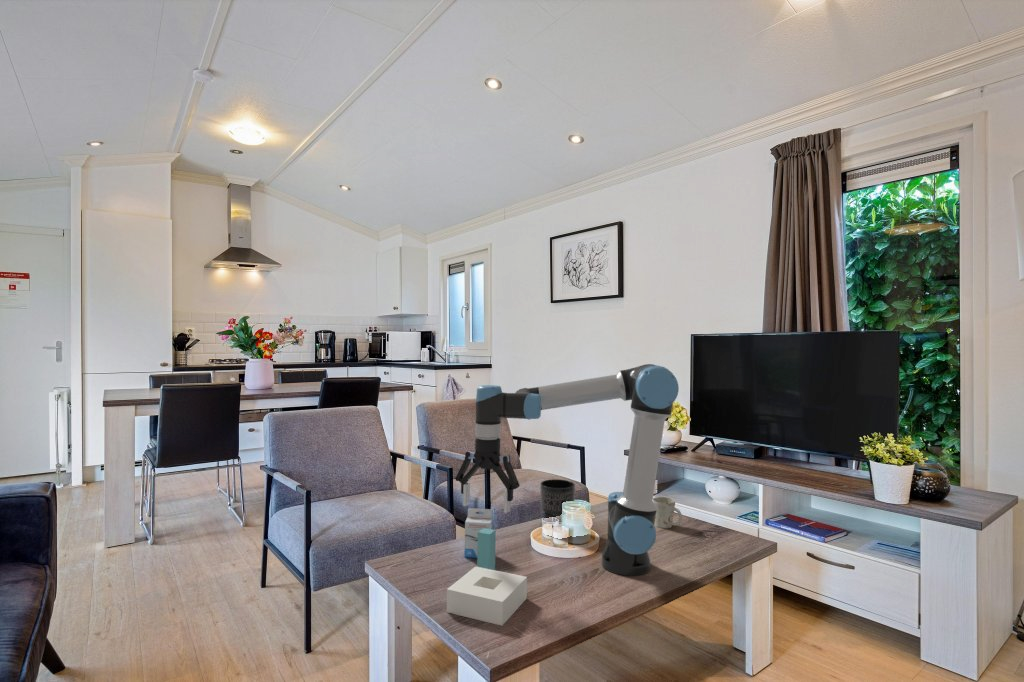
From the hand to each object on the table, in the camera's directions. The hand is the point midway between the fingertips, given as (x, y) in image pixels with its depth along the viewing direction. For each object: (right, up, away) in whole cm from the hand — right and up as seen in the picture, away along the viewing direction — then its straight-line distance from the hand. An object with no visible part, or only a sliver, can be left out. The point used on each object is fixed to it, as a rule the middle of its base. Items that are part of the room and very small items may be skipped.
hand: (486, 508), depth 166 cm
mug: (+68, -22, +47) cm, 85 cm away
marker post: (0, -21, 0) cm, 21 cm away
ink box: (-4, -21, +17) cm, 27 cm away
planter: (+24, -21, +41) cm, 52 cm away
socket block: (+1, -21, -17) cm, 27 cm away
